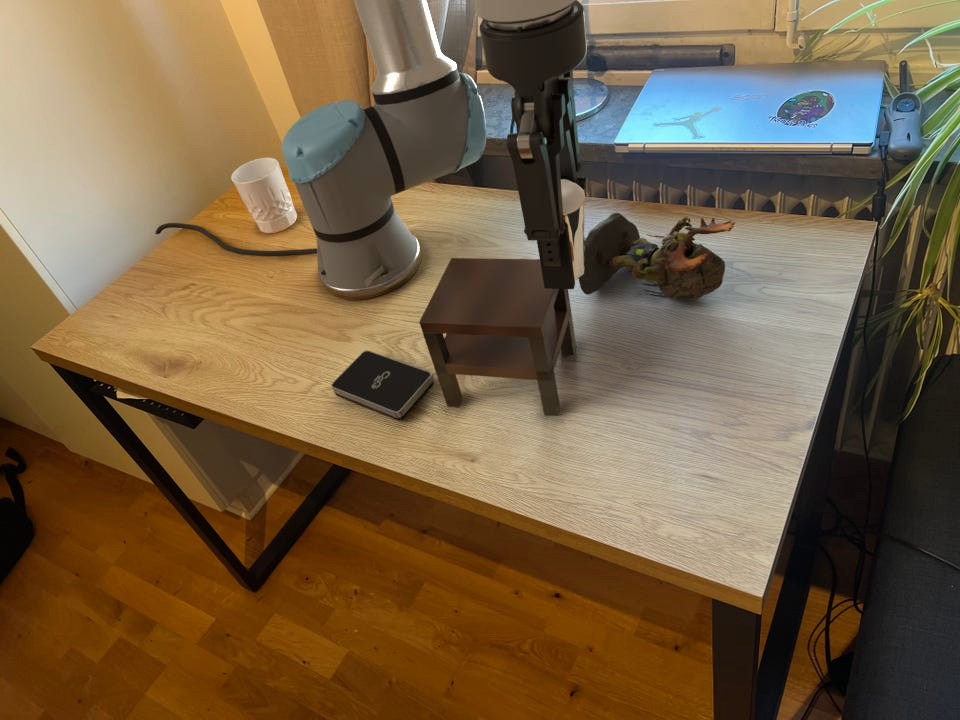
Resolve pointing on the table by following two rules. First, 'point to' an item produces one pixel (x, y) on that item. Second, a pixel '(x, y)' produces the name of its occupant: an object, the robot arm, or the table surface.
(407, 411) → the external hard drive
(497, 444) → the table surface
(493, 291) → the small wooden side table
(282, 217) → the white cup
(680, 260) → the figurine
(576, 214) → the milkshake
